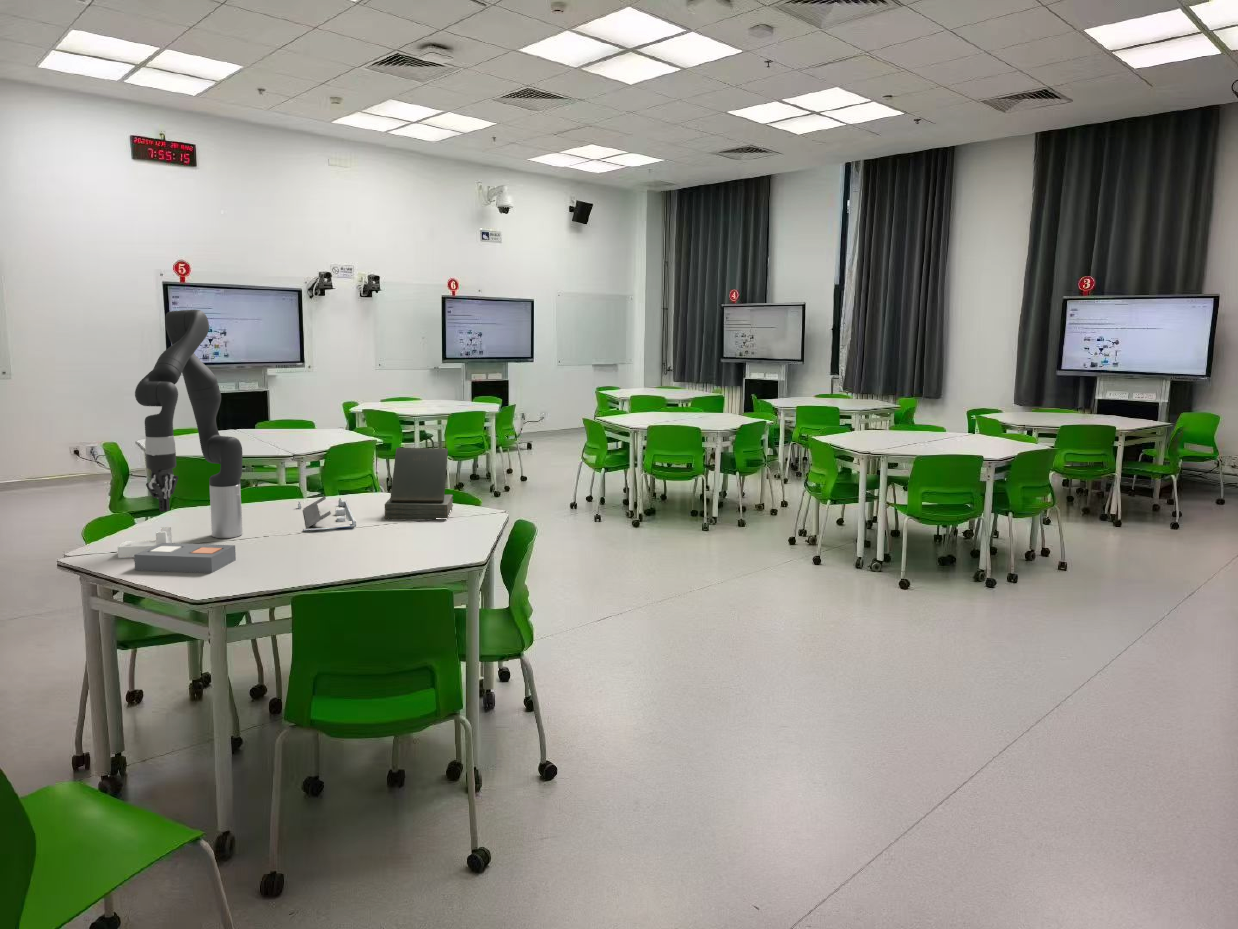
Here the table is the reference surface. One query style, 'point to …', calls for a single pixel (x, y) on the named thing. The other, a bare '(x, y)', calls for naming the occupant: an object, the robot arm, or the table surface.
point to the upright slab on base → (419, 485)
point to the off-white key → (166, 549)
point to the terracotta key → (206, 550)
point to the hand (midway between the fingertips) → (164, 511)
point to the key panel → (185, 558)
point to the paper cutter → (327, 514)
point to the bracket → (144, 543)
